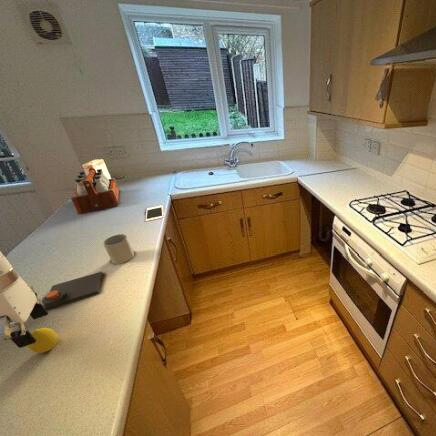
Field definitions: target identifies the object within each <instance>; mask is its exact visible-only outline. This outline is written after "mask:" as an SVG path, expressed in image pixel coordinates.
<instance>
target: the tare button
mask: <svg viewBox="0 0 436 436" xmlns="http://www.w3.org/2000/svg"><path fill="white" fill-rule="evenodd" d="M59 295H60V294H59V293H58V291H56V290H55V291H51V292H50V291H49V292H47V294H46V295H45V296H46V297H47V299H48V300H53V299H55V298H57V297H58V296H59Z"/></svg>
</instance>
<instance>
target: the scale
mask: <svg viewBox="0 0 436 436" xmlns="http://www.w3.org/2000/svg"><path fill="white" fill-rule="evenodd" d="M103 275H104V273H103V271H99V272H94V273H91V274H87V275H85V276H81V277H77V278H73V279H71V280H67V281H64V282H61V283H57V284H54V285H52V286H51V288H50V291H49V292H51V291H55V290H56V291H58V293H59V294H60V295H59V296H58V297H57V298H55V299H53V300H48V299H47V297H46V295H44V296H43V298H42V299H41V300H40V301H41V304H42V305H43V306H44V308H45V309H46V310H47V311H48V310H51V309H54V308H57V307H60V306H63V305H66V304H70V303H73V302H76V301H80V300H82V299H85V298H88V297H91V296H94V295H95V296H96V295H97V294H99V293H100V288H101V284H102V279H103Z"/></svg>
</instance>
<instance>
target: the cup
mask: <svg viewBox="0 0 436 436" xmlns="http://www.w3.org/2000/svg"><path fill="white" fill-rule="evenodd" d="M102 245H103V247H104V249H105V251H106V253H107V255H108V257H109V259H110V261H111V263H112V264H115V265H118V264H119V265H120V264H123V263H127V262H128V261H130V260H131V259H133V258H134V256H135V253H134V250H133V247H132V246H131V243H130V240H129V238H128V236H127V234H124V233H121V234H115V235H112V236H109V237H107V238H106V239H104V240H103V242H102Z"/></svg>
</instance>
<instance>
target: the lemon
mask: <svg viewBox="0 0 436 436" xmlns="http://www.w3.org/2000/svg"><path fill="white" fill-rule="evenodd" d="M30 333H31V334H32V335H33V337H34V338H35V339H36V342H35V343H33V344H30V345H28V346H27V347H28V349H29V350H30V351H31V352H34V353H37V354H42V353H46V352H48V351H50V350H52V349H53V348H54V347H55V346H56V344H57V343H58V334H57V332H55V331H54V329H52V328H49V327H39V328H37V329H34V330H33V331H31V332H30Z"/></svg>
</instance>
